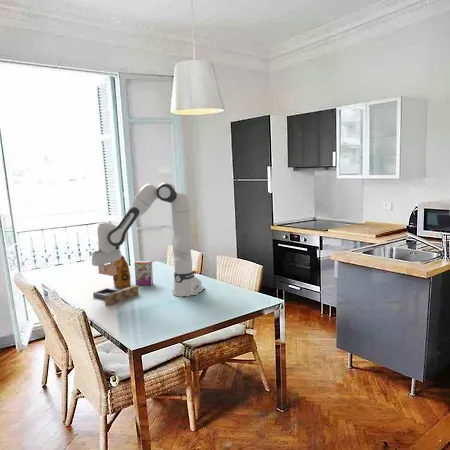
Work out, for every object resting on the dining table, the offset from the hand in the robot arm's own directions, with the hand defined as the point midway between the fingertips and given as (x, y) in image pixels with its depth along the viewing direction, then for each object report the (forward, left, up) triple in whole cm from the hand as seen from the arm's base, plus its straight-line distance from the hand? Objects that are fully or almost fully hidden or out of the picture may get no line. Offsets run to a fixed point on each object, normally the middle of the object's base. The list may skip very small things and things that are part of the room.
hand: (107, 269), depth 242 cm
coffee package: (-20, -10, -18) cm, 28 cm away
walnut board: (0, +12, -17) cm, 21 cm away
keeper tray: (0, 0, -17) cm, 17 cm away
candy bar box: (-30, +1, -18) cm, 35 cm away
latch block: (0, 0, -3) cm, 3 cm away
